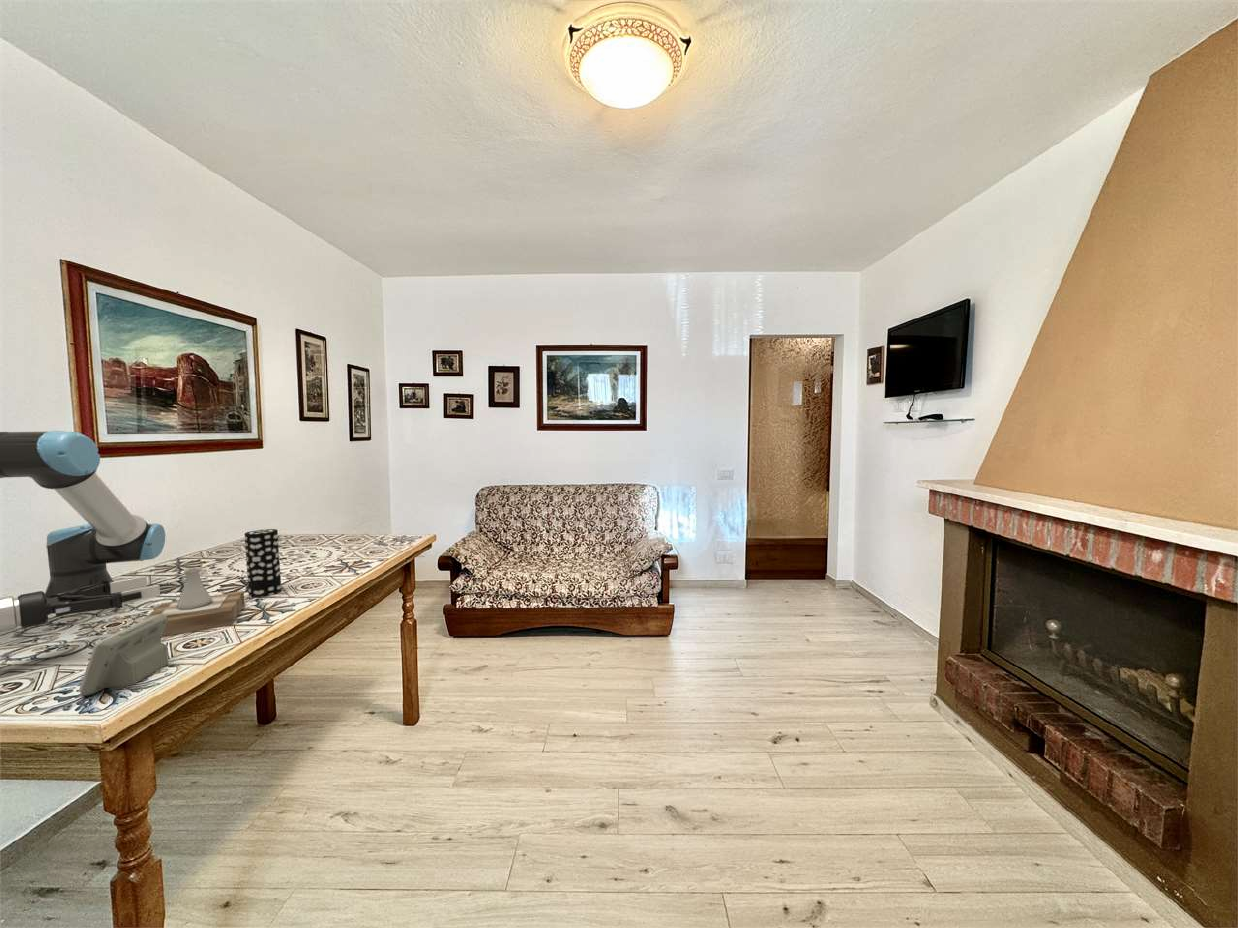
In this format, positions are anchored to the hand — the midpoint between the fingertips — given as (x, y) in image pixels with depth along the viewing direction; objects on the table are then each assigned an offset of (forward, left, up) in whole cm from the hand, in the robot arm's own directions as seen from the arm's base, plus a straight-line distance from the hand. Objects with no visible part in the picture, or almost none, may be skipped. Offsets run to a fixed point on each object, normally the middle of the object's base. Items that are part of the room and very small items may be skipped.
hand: (153, 585), depth 119 cm
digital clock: (+28, +3, -12) cm, 31 cm away
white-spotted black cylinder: (-21, +20, -12) cm, 32 cm away
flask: (-3, +7, -8) cm, 11 cm away
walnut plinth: (-3, +7, -12) cm, 14 cm away
